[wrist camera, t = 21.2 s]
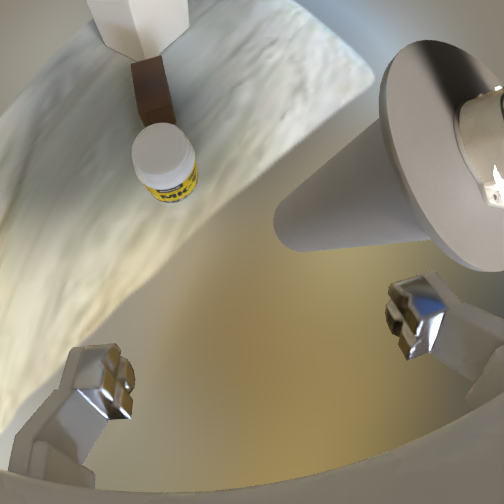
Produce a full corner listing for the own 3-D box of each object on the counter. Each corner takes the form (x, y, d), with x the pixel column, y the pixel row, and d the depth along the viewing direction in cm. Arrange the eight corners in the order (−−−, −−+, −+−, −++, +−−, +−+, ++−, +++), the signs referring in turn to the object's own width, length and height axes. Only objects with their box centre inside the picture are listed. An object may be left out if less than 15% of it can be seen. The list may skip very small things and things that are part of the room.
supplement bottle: (166, 214, 28) (147, 196, 20) (138, 175, 28) (112, 144, 19) (208, 183, 28) (207, 153, 20) (180, 145, 28) (169, 105, 20)
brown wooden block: (138, 84, 28) (130, 63, 24) (166, 76, 28) (161, 55, 24) (147, 131, 28) (138, 114, 24) (176, 123, 28) (171, 104, 24)
